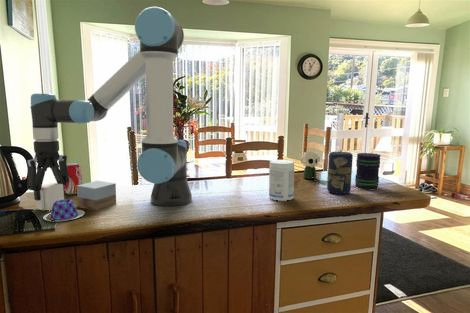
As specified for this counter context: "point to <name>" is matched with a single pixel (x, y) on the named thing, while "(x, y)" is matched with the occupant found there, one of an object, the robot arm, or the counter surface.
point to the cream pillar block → (52, 194)
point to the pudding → (64, 210)
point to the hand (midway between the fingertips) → (50, 206)
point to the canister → (339, 172)
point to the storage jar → (367, 170)
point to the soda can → (73, 177)
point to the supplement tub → (281, 180)
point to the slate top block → (96, 190)
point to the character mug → (310, 164)
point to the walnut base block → (96, 202)
